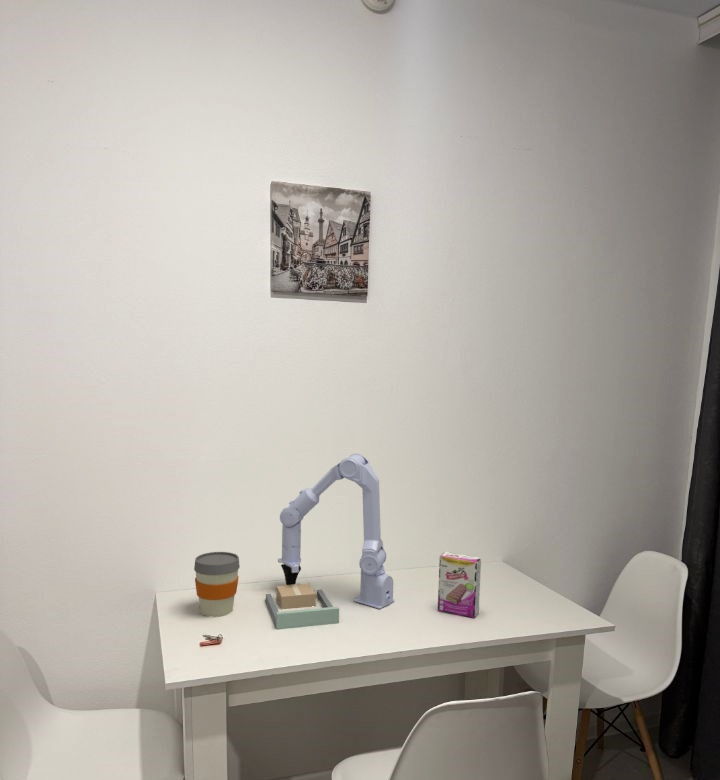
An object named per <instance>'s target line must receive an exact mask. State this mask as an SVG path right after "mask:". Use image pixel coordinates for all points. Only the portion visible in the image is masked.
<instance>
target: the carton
mask: <svg viewBox="0 0 720 780" xmlns="http://www.w3.org/2000/svg"><path fill="white" fill-rule="evenodd" d="M316 599H317V592H315V590H314V589H313V587H312V585H311V583H298V584H297V583H296V584H292V585H286V584H282V585H276V601H277V602H278V604H279V607H280V609H281V610H288V609H289V610H291V609H301V608H311V607H312V606H314V607H316V606H317V605H316V604H317V602H316ZM312 608H313V607H312Z"/></svg>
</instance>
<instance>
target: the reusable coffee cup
mask: <svg viewBox="0 0 720 780" xmlns="http://www.w3.org/2000/svg"><path fill="white" fill-rule="evenodd" d="M194 560H195V561H194V566H193V567H194V568H193V569H194V572H195V578H194V583H195V591H196V596H197V597H198V603H199V612H200V614H201V615H203V616H204V617H205V616H206V617H209V616H213V617H214V618H217V617H223V616H226V615H228V614H231V613H232V612H233V608H234V601H235V596H236V594H237V590H238V586H239V585H238V584H239V574H238V573H239V569H240V557H239V556H238V554H236V553H233V552H229V551H228V552H227V551H212V552H211V551H210V552H206V553H202V554H200V555H197V556H196V557H195V558H194ZM216 616H217V617H216ZM213 617H212V618H213Z"/></svg>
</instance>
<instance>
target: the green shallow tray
mask: <svg viewBox="0 0 720 780" xmlns="http://www.w3.org/2000/svg"><path fill="white" fill-rule="evenodd" d="M316 598H317V599H318V601H319V600H320V601H319V603H320V604H321V605H322V607H317V608H308V609H307V608H306V609H298V610H297V609H296V610H286V611H279V610H278V607H277V605H276V602H275V600H274V598H273V596H272V593H265V603H266V606H267V608H268V611H269V614H270V616H271V618H272V620H273V623H274V626H275V627H276V630H283V629H284V630H285V629H291V628H292V629H293V628H302V627H311V626H312V627H313V626H321V625H322V626H323V625H331V624H340V608H339V606H334V605H333V604H332V602H331V601H330V600H329V598H328V597H327V595H326V593H325V592H324V590H323V589H316Z"/></svg>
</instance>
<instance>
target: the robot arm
mask: <svg viewBox="0 0 720 780" xmlns="http://www.w3.org/2000/svg"><path fill="white" fill-rule="evenodd" d="M343 479H346V480H349V481H351V482H354V483H355V484H356V485H358V486H359V487H360V488H361V490H362V515H363V516H362V517H363V519H362V520H363V521H362V522H363V545H362V548H361V549H362V550H361V551H362V553H361V554H362V555H361V556H360V557H361V558H360V559H359V568H360V590H359V597H357V598H354V599H353V602H355V603H359V604H362V605H364V606H365V605H366V606H368V607H372V608H375V609H379V610H380V609H383V608H384V607H386V606H388V605H390V604H392V603H393V602H395V599H394V578H393V577H392V576H391V575H389V574H388V573H386V569H385V567H384V565H383V564H385V562H386V560H387V552H386V550H385V548H384V542H383V540H382V538H381V533H382V532H381V505H380V504H381V503H380V480H379V478H378V476H377V473H376V472H375V470H374V469H373V467H372V466H371V463H370V460H369V459H367V458H366V457H365V456H363V455H361V454H359V453H353V454H350V455H349V456H348V457H345V458H344V459H342V460H341V461H340V462H338V463H337V464H336V465H334V466H333V467H331V468H330V469H329V470H328V471H327V472H326V473H325V474H324V475H323V476H322V477H321V478H320V480H319V481H318V482H317V483H316V484H315V485H314V486H313V487H312V488H311V487H310V488H304V489H301V490H300V491H299V492H298V494H299V495H298V496H297V497H295V499H294V500H291V501H289V503H288V504H289V506H287V507H284V508H283V509H282V511H280V514H279V520H280V523H281V524H282V526H281V527H282V528H281V529H282V530H281V558H277V562H278V563H279V564H280V567H281V569H282V571H283V575H284V580H285V585H292V584H297V578H298V575H299V573H300V572H301V570H302V566H301V565H300V564H301V562H302V558H301V547H302V546H301V544H302V543H301V541H302V536H301V535H302V534H301V533H302V529H301V528H302V520H304V517H305V516H307V515H308V514H309V512H311V510H313V508H315V507H316V506H317V505H318V504H319V503H320V496H321V495H322V494H323V493H324V492H325V491H326V490H328V489H329V487H331V486H332V485H333V484H334V483H335V482H336V481H340V480H343ZM281 563H282V564H281Z"/></svg>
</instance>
